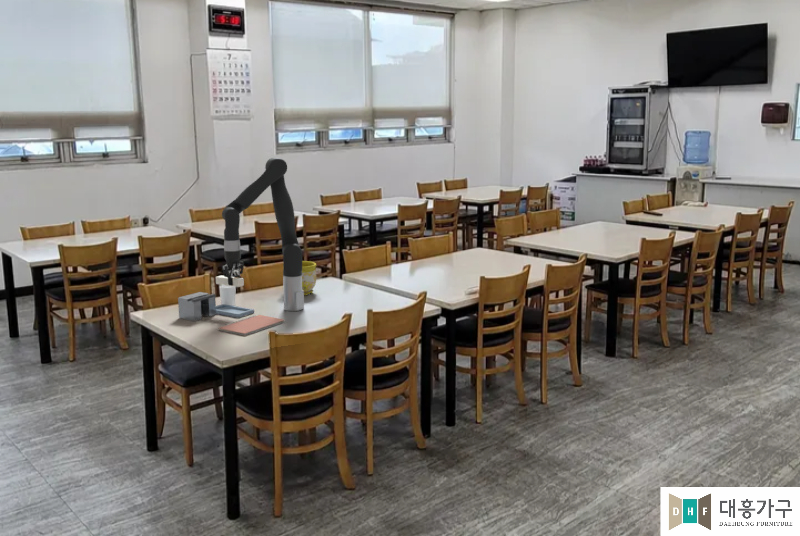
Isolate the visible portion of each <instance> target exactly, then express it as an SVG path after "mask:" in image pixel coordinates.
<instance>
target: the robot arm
mask: <svg viewBox="0 0 800 536" xmlns="http://www.w3.org/2000/svg"><path fill="white" fill-rule="evenodd" d="M264 169H265V170H264V172H263V173H262V174H261V175H260V176H259V177H258V178H257V179H256V180H254V182H252V183H251V184H249V185H248V186H247V187H245V189H244V190H243V191H241V193H239V195H238V196H237V197H236V198H235V199H234V200H233V201H231V202H230V203H228V204H227V205H226V207H224V208H223V210H222V213H221V216H222V219H223V220H224V227H225V228H224V231H223V240H224V242H223V250H224V259H225V261H226V262H225V265H221V270H222V274H223V276H224V277H227V278H228V284H229V285H231V286H232V285H233V278H232V277H238V278H241V277H240V276H241V275H242V274H243V273H244V266H245V262H244V261H241V260H240V259H241V258H242V255H241V253H242V252H241V241H240V220H241V218H240V217H241V216H240V214H241V213H242V212H243V211H245V210H247V209H248V208H249V207H251V206H252V205H253V203H254V202H255V201H257V199H258V198H259V197H260V196H261V195H262V194H263V193H264V192H265V190H267V189H268V188H269V187H270V190H271V198H272V203H273V209H274V215H275V220H276V223H277V226H278V229H279V233H280V238H281V249H282V250H281V251H282V256H283V261H282V262H283V264H282V267H283V268H282V269H283V270H282V278H283V279H282V285H283V286H282V289H283V293H282V294H283V295H282V296H283V310H284V311H288V312H298V311H301V310H304V309H305V296H304V290H302V261H303V250H302V248H301V247H300V244H299V240H298V237H297V233H296V219H295V218H296V216H295V211H294V209H295V208H294V205H293V202H292V198H291V196H290V193H289V191H288V189H287V186H286V182H285V174H286V173H287V172H288V163H287V162H286V161H285V159H284V158H283V159H282V158H280V157H271V158H269V159H267V161H266V163H265V167H264ZM233 274H234V275H233Z"/></svg>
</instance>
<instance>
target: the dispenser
mask: <svg viewBox="0 0 800 536" xmlns="http://www.w3.org/2000/svg"><path fill="white" fill-rule="evenodd" d="M177 300H178V301H177V302H178V303H177V304H178V318H179V319H181V320H187V321H191V322H196V321H200V320H202V316H204V317H209V318H210V317H214V316H216V315H217V314H216V306H217V303H216V294H215V293H211V294H210V293H208V292H202V291H198V292H194V293H191V294H186V295H183V296H179V297H177Z"/></svg>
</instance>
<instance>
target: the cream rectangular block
mask: <svg viewBox="0 0 800 536" xmlns="http://www.w3.org/2000/svg"><path fill="white" fill-rule="evenodd" d="M232 278H233V285H232V286H234V287H236V288H240V287H243V286H245V283H244V281H245V280H244V279H245V278H244V277H240V278H238V277H235V276H233V277H232ZM215 284H216V285H219V286H221V285H227V286H231V285H229V284H228V278H227V277H224V275H218V276H215Z"/></svg>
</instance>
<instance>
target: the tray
mask: <svg viewBox="0 0 800 536" xmlns="http://www.w3.org/2000/svg"><path fill="white" fill-rule="evenodd" d="M254 313H255V309H253V308H248V307H242V306H236V305H234V306H232V305H227V304H219V305H216V315H220V316H226V317H227V316H228V317H232V318H236V319H239V318H244V317H245V316H249V315H253V314H254Z"/></svg>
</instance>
